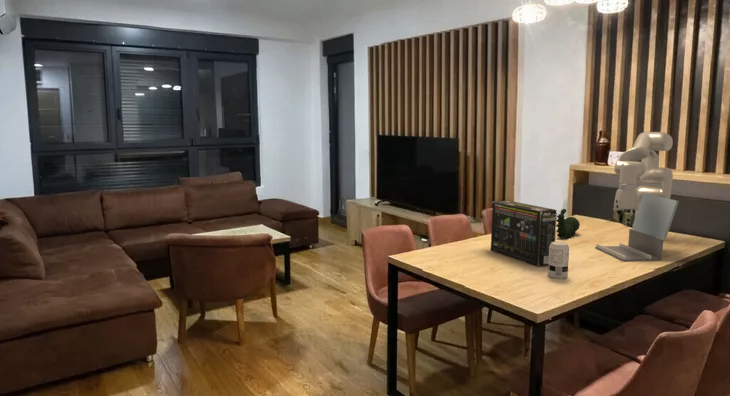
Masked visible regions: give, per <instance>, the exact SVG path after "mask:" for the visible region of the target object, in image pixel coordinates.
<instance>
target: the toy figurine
mask: <svg viewBox="0 0 730 396" xmlns="http://www.w3.org/2000/svg"><path fill="white" fill-rule="evenodd" d="M566 213H567V209H566V208H562V209H561V210H560V213H559V214H558V215H557V219H556V227H555V228H557V229H556V230H555V231H556V237H558V238H562V237H563V238H564V239H565V238H567V239H571V238H572V237H574V236H575V235H576V232H577V231H578V230H579V229H580V225H581V224H580V222H579V220H578V219H577V218H576V217H574V216H569V217H568V216H567V217H566V218H565V214H566Z"/></svg>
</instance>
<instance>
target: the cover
mask: <svg viewBox="0 0 730 396" xmlns="http://www.w3.org/2000/svg"><path fill="white" fill-rule="evenodd" d="M679 202H680V201H679V200H675V199H671V198H670V199H667V198H663V197H659V196H654V195H650V194H645V193H643V196H642V199H641V202H640V205H639V208H638V209H639V210H638V211H637V214H636V217H635V216H634V221H633V224H632V225H633V227H632V228H631V229H633V230H637V231H640V232H643V233H646V234H648V235H651V236H654V237H656V238H659V239H661V240H663V241H666V239H667V237H668V235H669V231H670V228H671V225H672V222H673V220H674V217H675V213H676V211H677V208H678V205H679Z"/></svg>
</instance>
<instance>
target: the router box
mask: <svg viewBox="0 0 730 396" xmlns="http://www.w3.org/2000/svg"><path fill="white" fill-rule="evenodd" d="M491 204H492V215H491V216H492V217H491V232H490V233H491V236H490V237H491V238H490V239H491V241H490V251H492V252H494V253H497V254H500V255H503V256H506V257H509V258H512V259H516V260H518V261H521V262H524V263H527V264H530V265H533V266H535V267H542V266H548V262H549V246H550V244H551V242H556V237H557V232H556V231H557V230H556V228H557V227H556V225H557V221H556V220H558V217H557V216H558V215H557V214H558V212H557V209H553V208H548V207H542V206H538V205H533V204H528V203H524V202H523V203H522V202H518V201H517V202H516V201H512V200H502V201H501V200H499V201H498V200H497V201H492V202H491Z"/></svg>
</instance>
